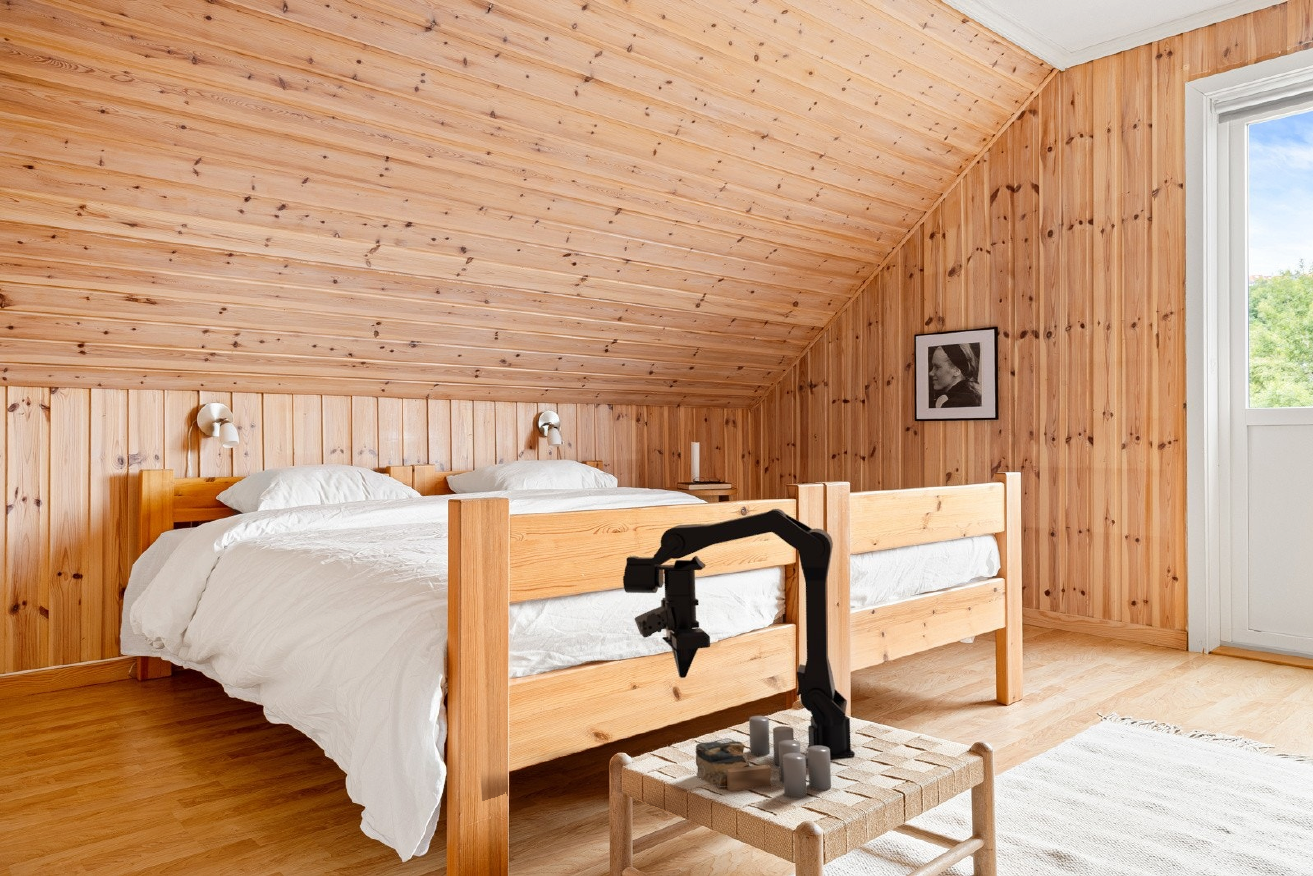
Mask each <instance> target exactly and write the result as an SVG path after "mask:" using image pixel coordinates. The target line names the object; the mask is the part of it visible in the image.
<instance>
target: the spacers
mask: <svg viewBox="0 0 1313 876" xmlns="http://www.w3.org/2000/svg"><path fill="white" fill-rule="evenodd" d="M748 719H749V720H748V723H749V727H748V729H749V753H750V754H752V755H755V756H766V755H770V753H771V752H770V751H771V749H770V747H771V746H770V721H769V720H770V719H769V717H768V716H765V715H753V716H749V718H748ZM794 739H795V738H794V728H793V727H790V726H785V725H784V726H782V725H781V726H779V725H778V726H775V727H774V728H772V740H773V741H772V742H773V743H772V744H773V765H774V766H775V767H777V768H779V780H780V782H782V783H783V795H784V797H786V798H788V799H792V800H799V799H804V798H806V797H807V768H806V767H807V766H806V760H805V755H804V754H803V753H801V742H800V741H798V740H794ZM807 753H808V787H809V788H810V789H811V790H814V791H828V790H830V789H831V788H832V785H831V784H832V780H831V779H832V776H831V775H832V774H831V758H830V749H829V748H828V747H826V746H811V747H809V748H808V747H807Z"/></svg>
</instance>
